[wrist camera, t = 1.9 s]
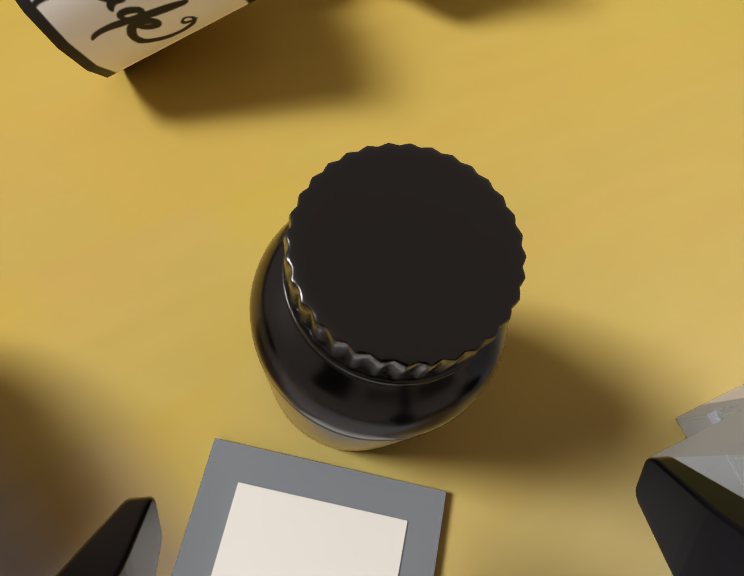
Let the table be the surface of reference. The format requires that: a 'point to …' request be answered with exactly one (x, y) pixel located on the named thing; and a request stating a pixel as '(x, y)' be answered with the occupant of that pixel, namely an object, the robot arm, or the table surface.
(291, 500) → the grey mat
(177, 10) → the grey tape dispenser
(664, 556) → the robot arm
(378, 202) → the supplement bottle
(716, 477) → the circuit breaker
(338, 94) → the table surface
